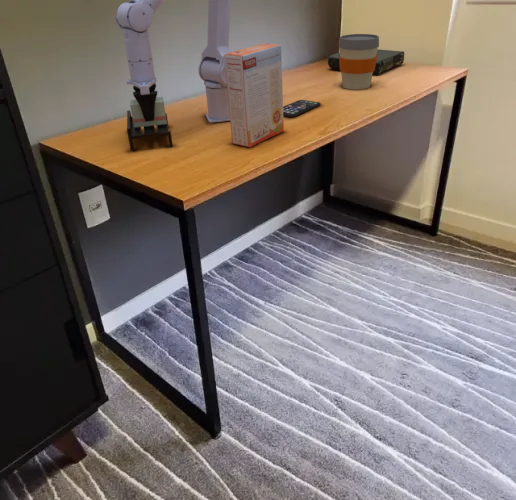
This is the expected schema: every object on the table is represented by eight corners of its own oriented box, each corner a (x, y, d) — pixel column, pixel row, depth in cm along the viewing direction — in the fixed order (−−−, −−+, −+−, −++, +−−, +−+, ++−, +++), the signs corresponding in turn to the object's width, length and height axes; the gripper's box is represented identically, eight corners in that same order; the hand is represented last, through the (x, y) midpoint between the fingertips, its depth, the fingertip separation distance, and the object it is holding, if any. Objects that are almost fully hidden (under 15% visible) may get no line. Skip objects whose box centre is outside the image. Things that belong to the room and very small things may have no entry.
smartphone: (321, 102, 143) (292, 115, 133) (321, 105, 143) (292, 117, 133) (300, 99, 147) (270, 111, 137) (300, 101, 147) (270, 114, 138)
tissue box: (165, 118, 125) (162, 93, 122) (167, 124, 121) (163, 98, 118) (133, 121, 124) (129, 96, 120) (134, 127, 120) (129, 101, 116)
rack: (168, 126, 132) (165, 106, 129) (172, 146, 118) (169, 124, 115) (130, 131, 130) (126, 110, 128) (131, 151, 117) (126, 129, 114)
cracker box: (266, 128, 127) (262, 42, 116) (284, 132, 124) (283, 44, 113) (230, 144, 118) (223, 52, 107) (249, 148, 115) (243, 54, 104)
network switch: (384, 76, 170) (386, 61, 167) (323, 71, 181) (324, 57, 178) (405, 63, 187) (407, 49, 184) (348, 59, 198) (349, 46, 195)
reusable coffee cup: (329, 86, 162) (330, 37, 154) (355, 79, 168) (358, 32, 160) (356, 93, 153) (360, 41, 145) (383, 85, 159) (388, 36, 151)
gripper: (123, 55, 120) (132, 111, 127) (122, 67, 108) (133, 127, 115) (152, 53, 121) (160, 108, 128) (154, 64, 109) (163, 124, 116)
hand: (149, 117), depth 122 cm, fingers closed on tissue box, 5 cm apart
